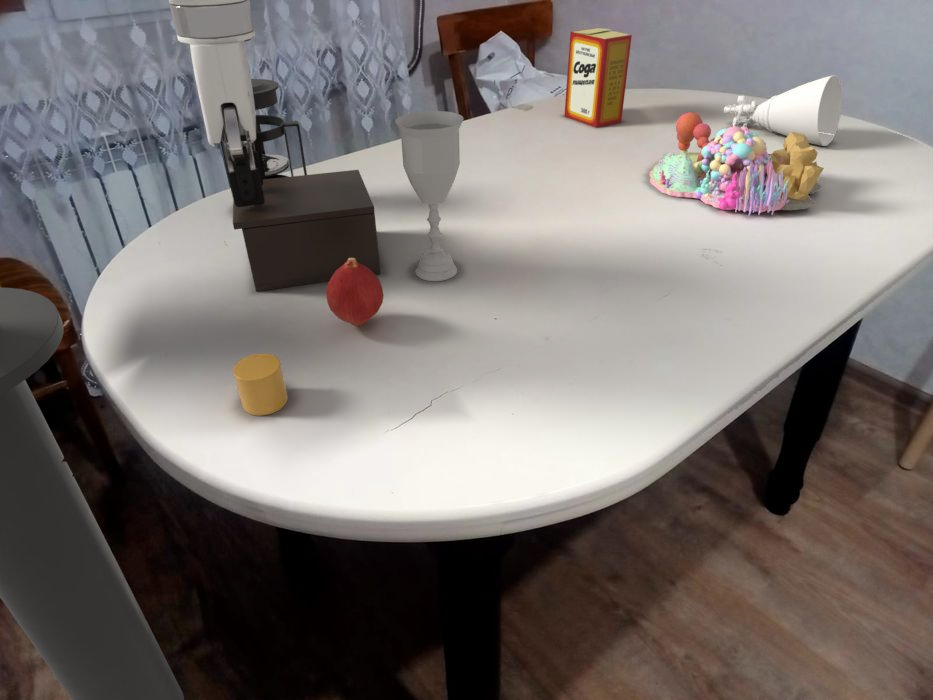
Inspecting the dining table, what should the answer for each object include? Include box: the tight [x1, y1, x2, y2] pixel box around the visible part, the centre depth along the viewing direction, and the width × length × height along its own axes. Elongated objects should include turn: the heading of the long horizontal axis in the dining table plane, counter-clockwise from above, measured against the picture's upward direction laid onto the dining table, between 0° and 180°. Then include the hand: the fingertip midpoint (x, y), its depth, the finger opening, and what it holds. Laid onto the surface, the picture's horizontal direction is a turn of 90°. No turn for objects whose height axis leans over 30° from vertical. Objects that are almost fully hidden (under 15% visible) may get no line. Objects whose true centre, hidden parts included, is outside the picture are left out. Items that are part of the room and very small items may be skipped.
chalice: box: [394, 110, 465, 282], centre depth 75 cm, size 7×7×18 cm
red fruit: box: [325, 258, 385, 327], centre depth 68 cm, size 6×6×8 cm
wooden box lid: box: [232, 169, 375, 230], centre depth 77 cm, size 15×13×5 cm
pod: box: [232, 352, 289, 416], centre depth 59 cm, size 4×4×4 cm
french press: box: [219, 38, 308, 198], centre depth 90 cm, size 12×9×23 cm
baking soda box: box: [563, 27, 632, 129], centre depth 127 cm, size 10×6×16 cm
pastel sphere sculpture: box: [649, 111, 824, 217], centre depth 98 cm, size 25×24×9 cm
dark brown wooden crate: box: [241, 212, 381, 292], centre depth 80 cm, size 15×13×8 cm
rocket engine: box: [723, 74, 843, 147], centre depth 120 cm, size 12×12×18 cm
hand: (249, 193), depth 76 cm, fingers closed on wooden box lid, 5 cm apart
